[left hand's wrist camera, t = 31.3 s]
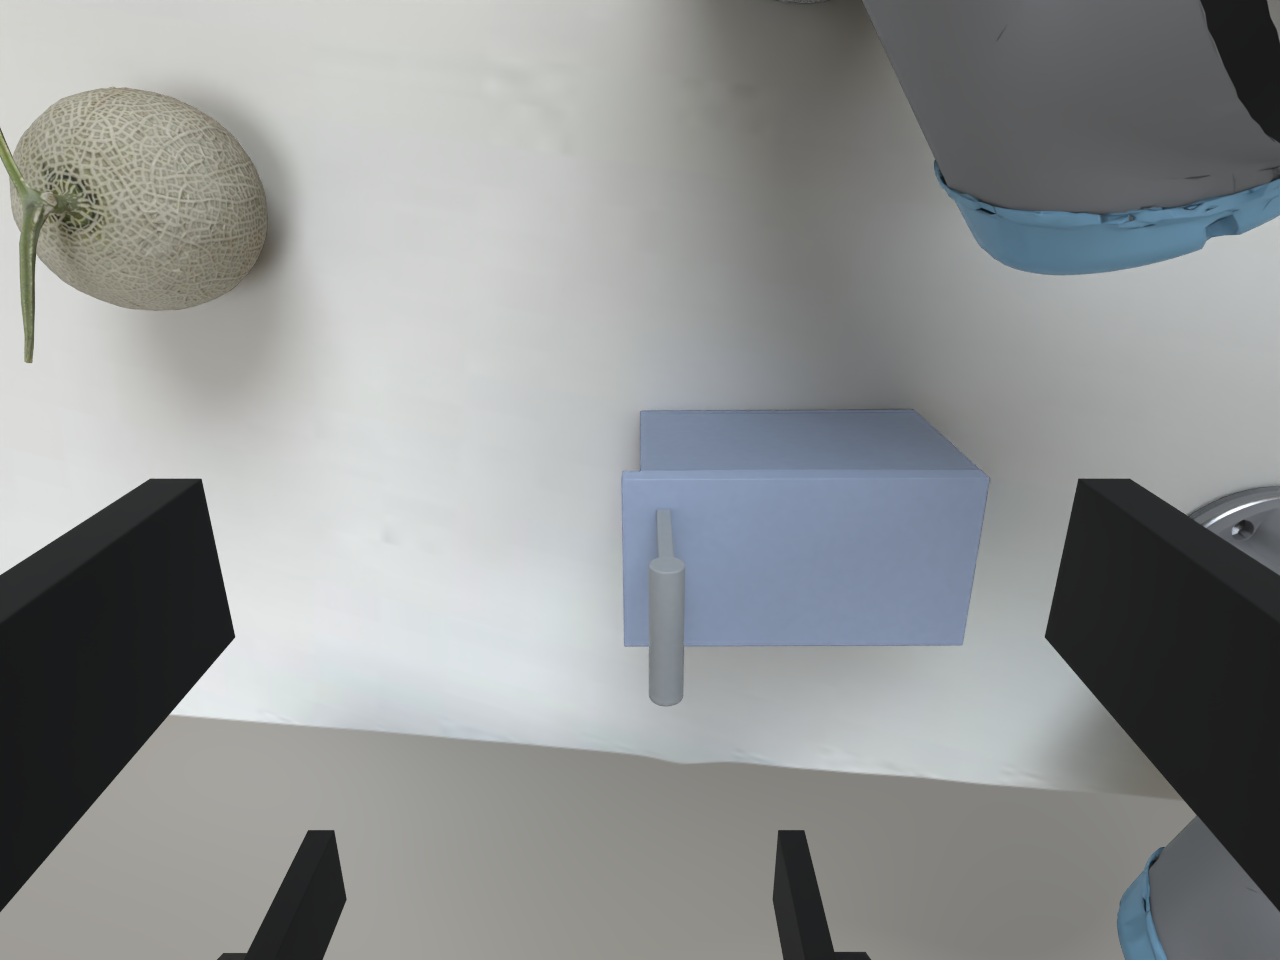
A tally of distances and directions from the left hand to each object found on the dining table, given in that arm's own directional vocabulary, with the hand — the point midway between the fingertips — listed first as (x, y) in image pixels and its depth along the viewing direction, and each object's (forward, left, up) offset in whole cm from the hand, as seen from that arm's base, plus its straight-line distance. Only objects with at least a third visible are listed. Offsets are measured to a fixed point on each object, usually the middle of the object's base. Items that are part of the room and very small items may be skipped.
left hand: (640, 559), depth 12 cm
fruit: (-24, -7, -38) cm, 46 cm away
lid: (+13, -9, -27) cm, 32 cm away
